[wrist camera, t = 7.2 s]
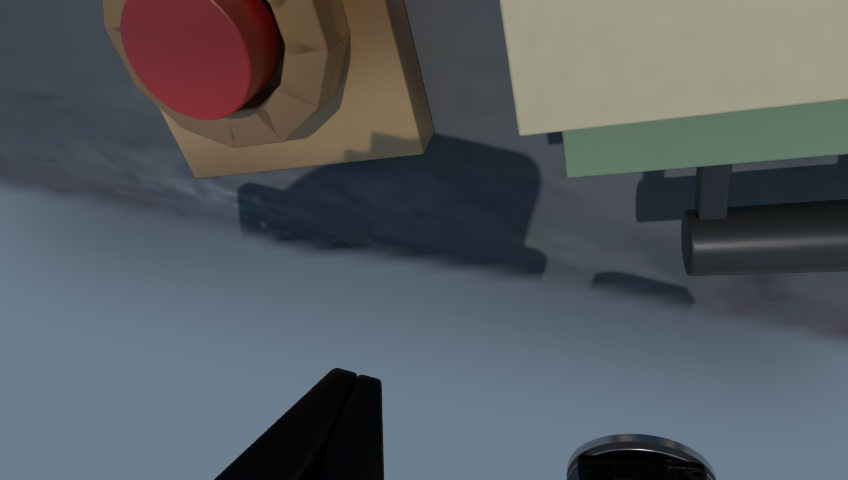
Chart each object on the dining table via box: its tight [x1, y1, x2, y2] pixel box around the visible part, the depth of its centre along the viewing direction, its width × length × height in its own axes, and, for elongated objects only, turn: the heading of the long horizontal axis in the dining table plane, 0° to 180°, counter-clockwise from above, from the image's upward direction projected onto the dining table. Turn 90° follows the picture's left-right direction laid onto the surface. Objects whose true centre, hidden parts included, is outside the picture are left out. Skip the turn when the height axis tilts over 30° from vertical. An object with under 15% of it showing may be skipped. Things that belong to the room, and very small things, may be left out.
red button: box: [120, 0, 279, 120], centre depth 15 cm, size 4×4×2 cm
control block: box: [102, 0, 434, 179], centre depth 16 cm, size 10×9×4 cm
